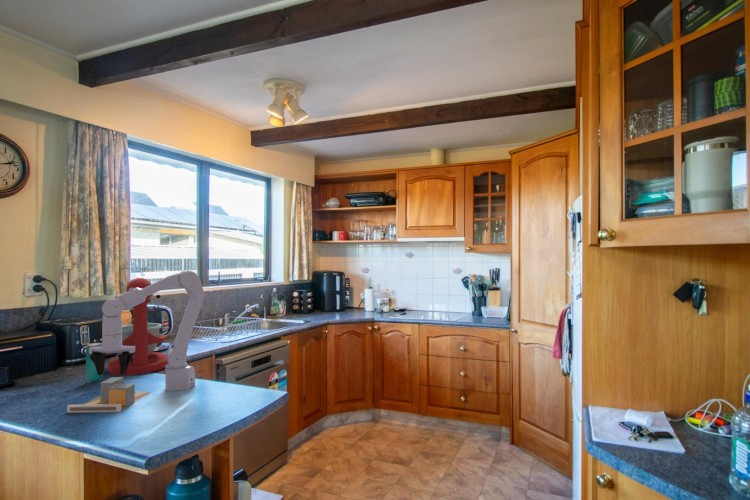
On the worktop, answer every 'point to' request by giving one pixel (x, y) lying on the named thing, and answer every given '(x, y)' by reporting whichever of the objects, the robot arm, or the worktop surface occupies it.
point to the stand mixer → (141, 338)
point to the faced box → (121, 394)
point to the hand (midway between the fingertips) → (112, 374)
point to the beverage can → (92, 365)
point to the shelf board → (97, 401)
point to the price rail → (94, 408)
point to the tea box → (108, 384)
